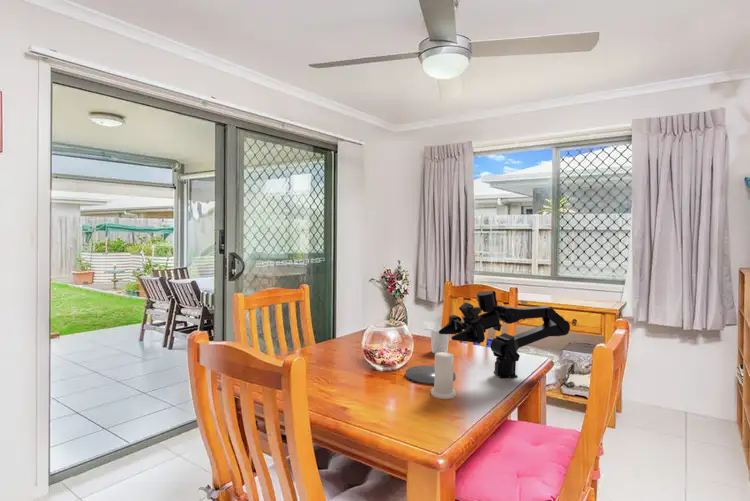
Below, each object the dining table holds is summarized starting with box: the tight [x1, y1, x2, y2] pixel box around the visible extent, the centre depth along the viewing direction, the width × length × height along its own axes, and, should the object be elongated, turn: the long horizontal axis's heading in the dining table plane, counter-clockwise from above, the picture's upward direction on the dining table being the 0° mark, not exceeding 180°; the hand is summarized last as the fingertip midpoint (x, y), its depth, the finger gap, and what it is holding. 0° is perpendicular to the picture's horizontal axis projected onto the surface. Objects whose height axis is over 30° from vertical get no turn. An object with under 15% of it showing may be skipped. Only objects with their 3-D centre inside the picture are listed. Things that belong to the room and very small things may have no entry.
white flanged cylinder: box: [430, 352, 457, 400], centre depth 144 cm, size 8×8×13 cm
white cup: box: [430, 327, 450, 355], centre depth 194 cm, size 8×8×10 cm
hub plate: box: [405, 364, 457, 386], centre depth 162 cm, size 18×18×1 cm
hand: (445, 335), depth 155 cm, fingers open, 9 cm apart
